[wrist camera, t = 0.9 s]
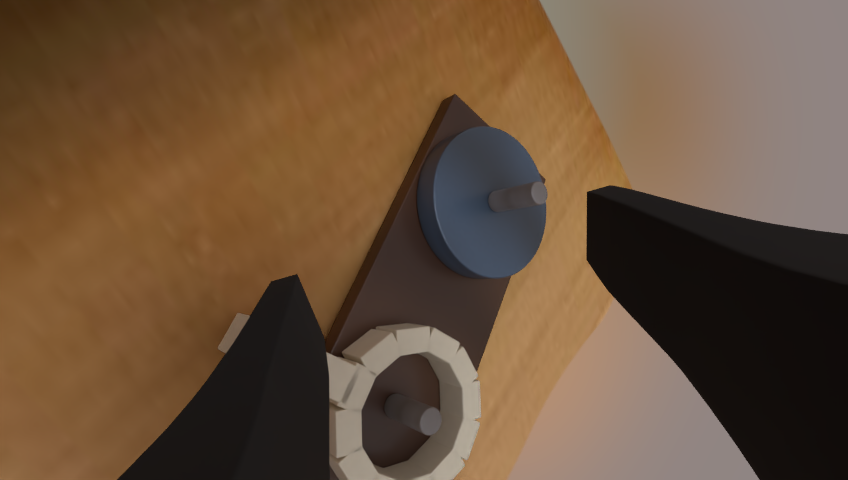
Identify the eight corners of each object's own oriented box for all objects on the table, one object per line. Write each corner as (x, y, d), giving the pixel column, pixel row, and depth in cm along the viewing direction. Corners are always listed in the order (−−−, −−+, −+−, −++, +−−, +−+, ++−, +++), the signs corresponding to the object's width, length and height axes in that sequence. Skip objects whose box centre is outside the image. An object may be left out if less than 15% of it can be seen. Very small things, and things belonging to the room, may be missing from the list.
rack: (407, 522, 24) (484, 583, 19) (257, 477, 20) (307, 540, 15) (532, 182, 32) (611, 164, 27) (442, 99, 28) (516, 60, 23)
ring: (421, 509, 23) (445, 526, 22) (171, 427, 17) (178, 443, 16) (475, 360, 26) (500, 366, 24) (275, 245, 20) (291, 242, 18)
